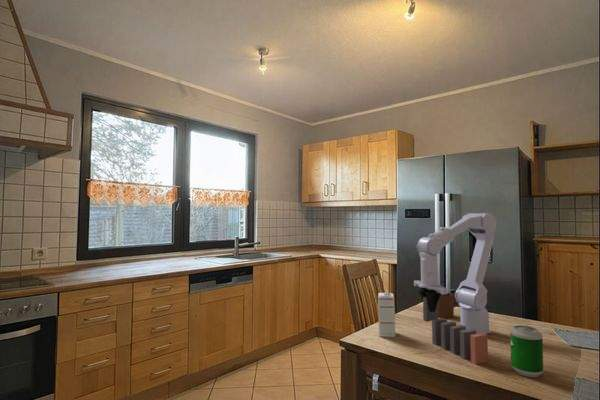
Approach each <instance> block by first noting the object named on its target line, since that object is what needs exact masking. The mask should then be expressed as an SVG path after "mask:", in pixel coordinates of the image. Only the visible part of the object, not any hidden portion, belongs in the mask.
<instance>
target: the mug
mask: <svg viewBox="0 0 600 400" xmlns="http://www.w3.org/2000/svg"><path fill="white" fill-rule="evenodd" d="M454 300H456V298H455V294H453V293H451V292H448V291H447V294H444V295H441V296H440V298H439V300H438V319H440V318H445V319H453V318H454V315H455V312H454V311H455V310H454V309H455V308H456V307H460V306H459V303H458V302H457V301H456V302H455V301H454Z"/></svg>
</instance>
